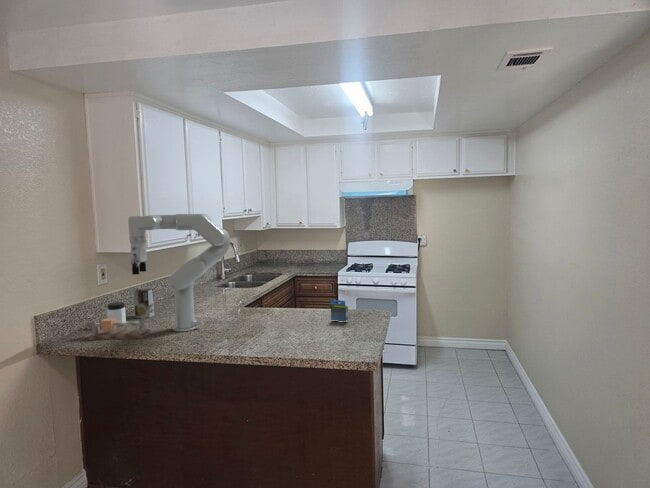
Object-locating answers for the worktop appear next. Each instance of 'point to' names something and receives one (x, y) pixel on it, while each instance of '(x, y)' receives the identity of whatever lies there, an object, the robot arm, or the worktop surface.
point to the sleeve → (108, 324)
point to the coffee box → (144, 303)
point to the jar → (117, 311)
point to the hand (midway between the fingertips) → (139, 272)
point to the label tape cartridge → (339, 310)
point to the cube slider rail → (118, 333)
